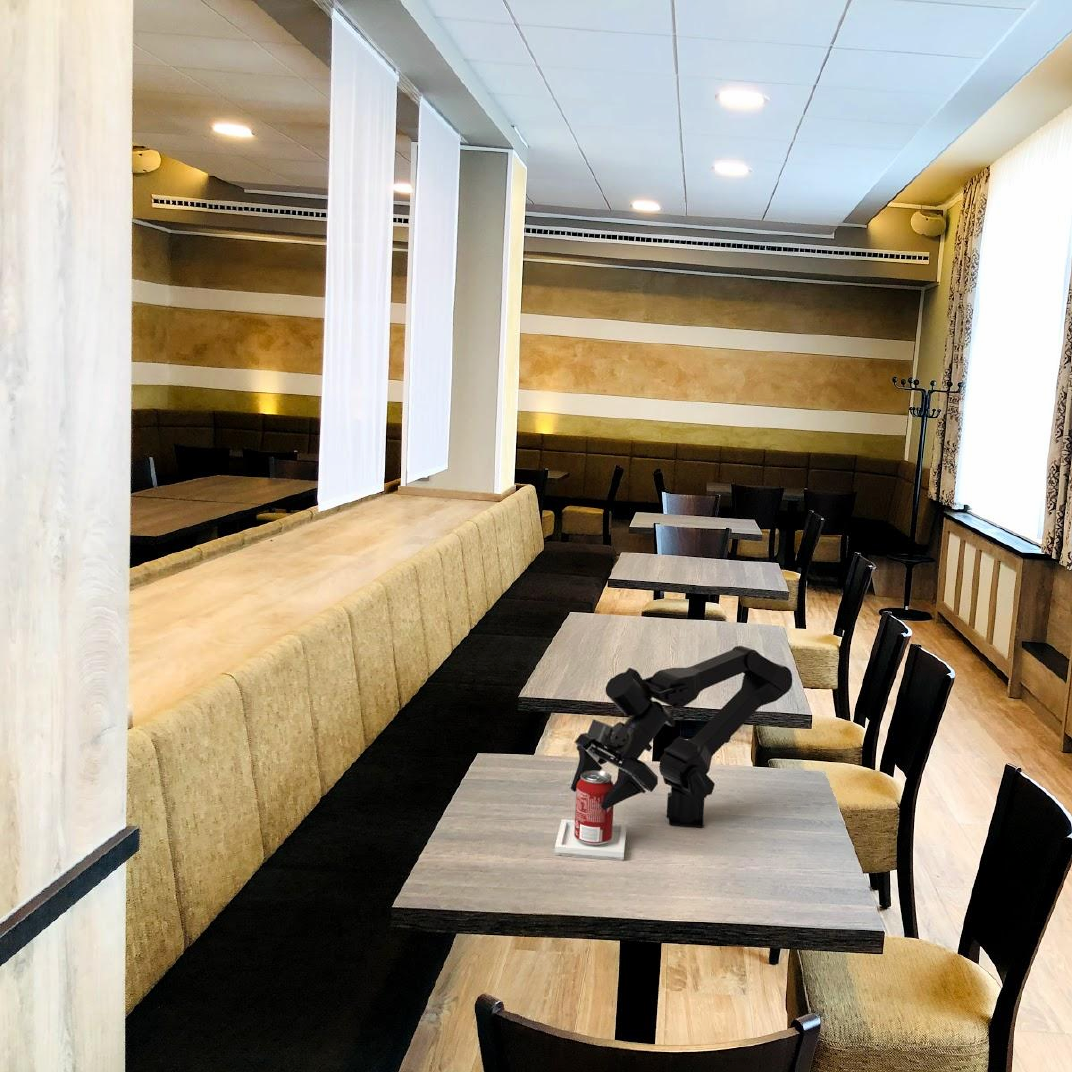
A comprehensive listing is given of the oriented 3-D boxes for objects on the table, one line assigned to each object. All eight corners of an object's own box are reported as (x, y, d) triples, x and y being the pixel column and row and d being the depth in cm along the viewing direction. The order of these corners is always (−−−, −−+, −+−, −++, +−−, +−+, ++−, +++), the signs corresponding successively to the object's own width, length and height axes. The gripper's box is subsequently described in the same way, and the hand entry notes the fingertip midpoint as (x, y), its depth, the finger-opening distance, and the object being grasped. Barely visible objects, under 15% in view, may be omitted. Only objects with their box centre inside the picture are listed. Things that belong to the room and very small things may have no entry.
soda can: (601, 851, 194) (604, 785, 192) (567, 841, 197) (570, 777, 195) (618, 837, 199) (621, 774, 198) (584, 828, 203) (587, 766, 201)
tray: (626, 832, 203) (626, 824, 203) (623, 861, 191) (623, 852, 191) (561, 827, 205) (561, 819, 204) (554, 855, 193) (554, 846, 192)
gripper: (585, 690, 204) (532, 757, 200) (648, 719, 188) (592, 792, 184) (617, 725, 209) (567, 790, 205) (681, 755, 194) (628, 827, 190)
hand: (587, 799), depth 196 cm, fingers open, 9 cm apart
